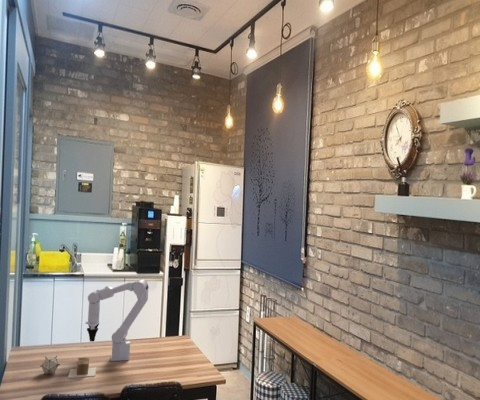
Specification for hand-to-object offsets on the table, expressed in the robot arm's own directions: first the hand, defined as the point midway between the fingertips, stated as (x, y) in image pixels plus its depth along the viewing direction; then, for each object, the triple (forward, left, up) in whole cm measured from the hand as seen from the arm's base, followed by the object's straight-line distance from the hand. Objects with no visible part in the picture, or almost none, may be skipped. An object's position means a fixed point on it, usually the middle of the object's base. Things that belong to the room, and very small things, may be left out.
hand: (92, 338), depth 213 cm
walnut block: (+3, +14, -7) cm, 16 cm away
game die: (+18, +18, -10) cm, 27 cm away
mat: (+3, +21, -10) cm, 23 cm away
